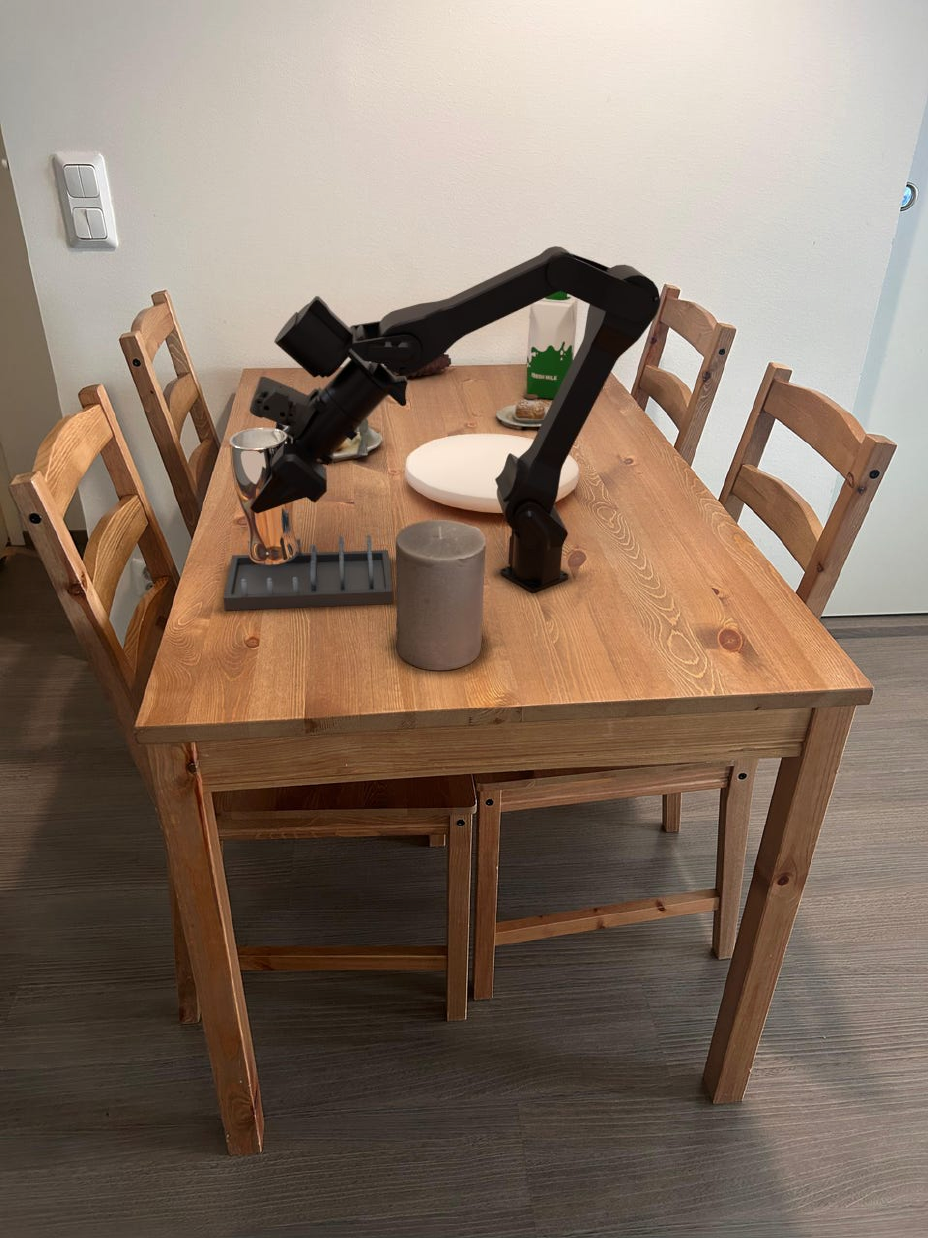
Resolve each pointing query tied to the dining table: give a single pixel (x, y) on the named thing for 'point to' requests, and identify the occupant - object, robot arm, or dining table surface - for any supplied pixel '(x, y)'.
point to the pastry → (523, 413)
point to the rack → (311, 580)
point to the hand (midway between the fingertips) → (255, 498)
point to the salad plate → (357, 444)
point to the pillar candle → (439, 593)
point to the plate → (472, 469)
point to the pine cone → (430, 366)
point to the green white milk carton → (550, 343)
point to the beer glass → (250, 473)
